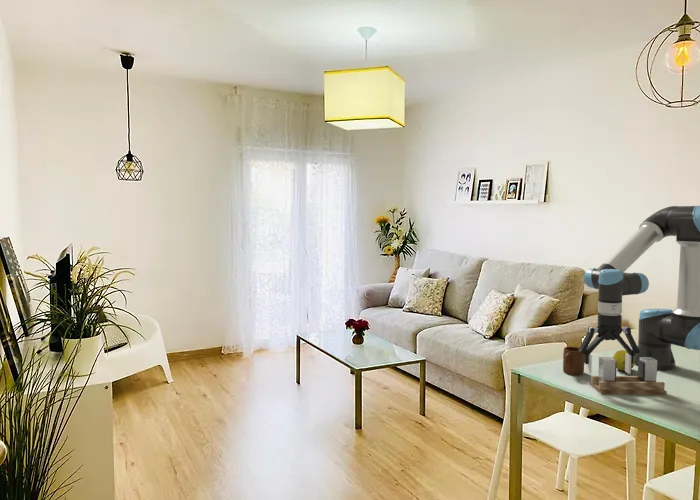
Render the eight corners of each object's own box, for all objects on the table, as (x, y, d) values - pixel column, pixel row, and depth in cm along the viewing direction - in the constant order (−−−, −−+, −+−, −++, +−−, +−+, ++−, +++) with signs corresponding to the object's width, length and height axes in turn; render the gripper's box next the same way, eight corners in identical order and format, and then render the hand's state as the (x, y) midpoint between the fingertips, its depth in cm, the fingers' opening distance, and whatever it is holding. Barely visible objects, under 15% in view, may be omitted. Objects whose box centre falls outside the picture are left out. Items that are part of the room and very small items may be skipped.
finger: (649, 384, 188) (651, 357, 187) (656, 388, 184) (657, 360, 183) (636, 384, 188) (638, 357, 187) (642, 388, 184) (643, 360, 183)
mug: (576, 380, 197) (576, 355, 196) (555, 375, 202) (556, 351, 201) (586, 372, 206) (587, 348, 205) (566, 368, 211) (567, 345, 210)
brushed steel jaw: (611, 384, 188) (612, 356, 188) (616, 388, 184) (617, 360, 184) (598, 384, 189) (599, 356, 188) (602, 387, 185) (603, 359, 184)
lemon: (614, 365, 215) (614, 346, 214) (635, 368, 210) (636, 349, 210) (609, 372, 206) (610, 352, 205) (632, 376, 201) (633, 355, 201)
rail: (651, 385, 191) (651, 375, 191) (666, 394, 181) (667, 384, 181) (589, 384, 192) (589, 374, 191) (601, 394, 182) (601, 383, 181)
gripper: (577, 316, 181) (576, 376, 183) (651, 315, 180) (649, 375, 182) (569, 311, 189) (568, 369, 190) (640, 311, 188) (638, 369, 190)
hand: (608, 372), depth 186 cm, fingers open, 13 cm apart
